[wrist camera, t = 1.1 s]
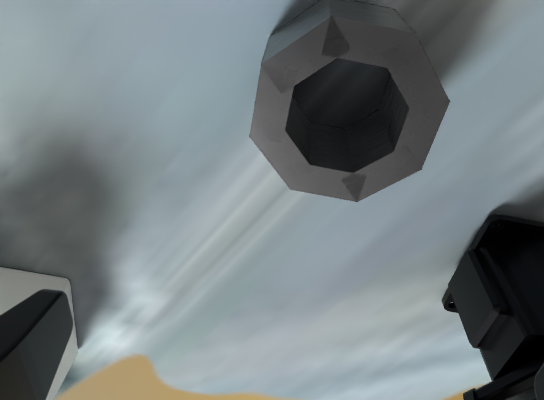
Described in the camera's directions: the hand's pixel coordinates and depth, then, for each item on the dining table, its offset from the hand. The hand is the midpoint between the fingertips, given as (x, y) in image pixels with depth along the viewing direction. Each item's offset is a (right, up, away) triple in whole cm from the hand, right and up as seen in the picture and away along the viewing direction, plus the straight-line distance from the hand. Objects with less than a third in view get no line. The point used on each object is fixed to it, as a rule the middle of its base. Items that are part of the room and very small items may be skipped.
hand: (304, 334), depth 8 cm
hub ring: (+2, +8, +10) cm, 13 cm away
